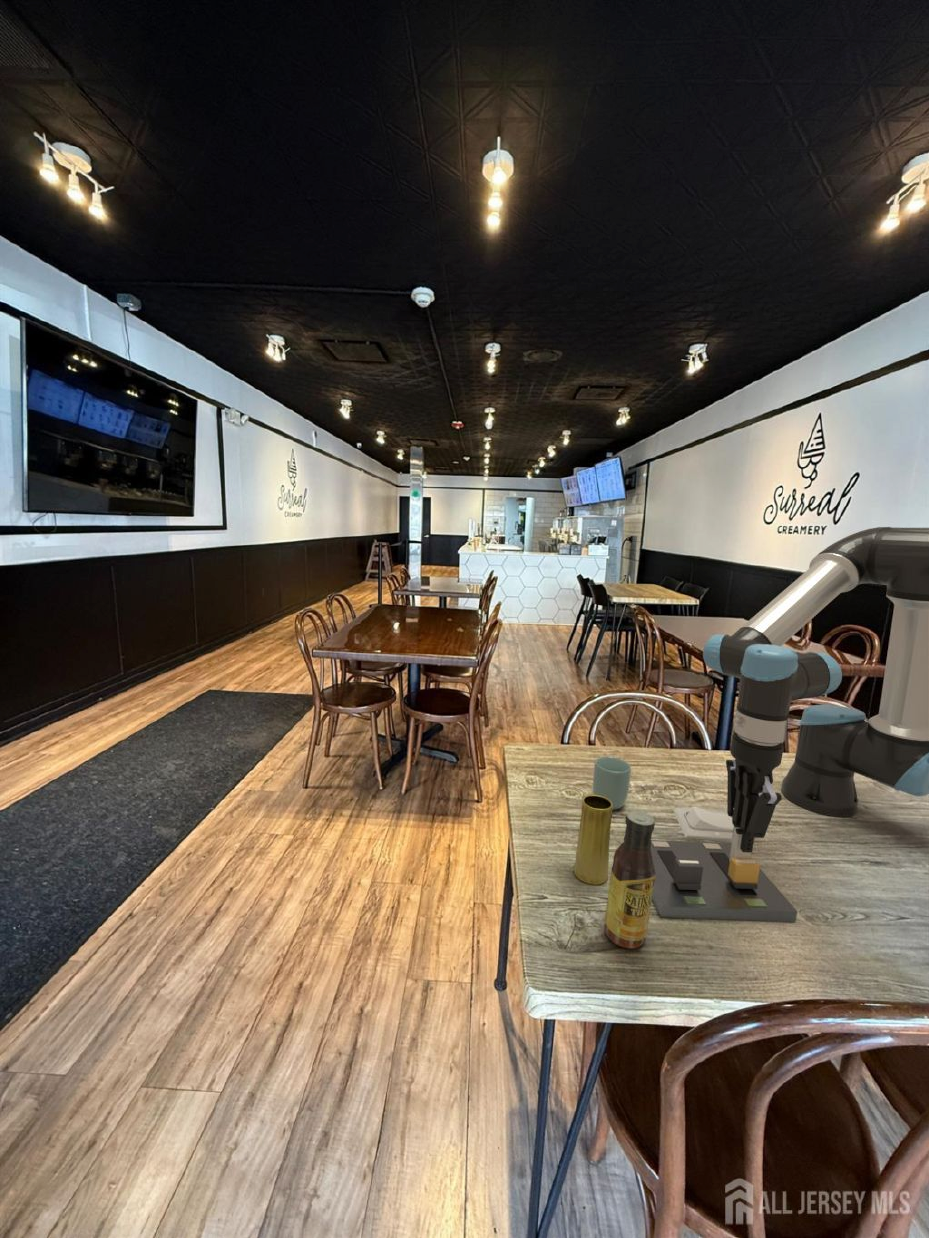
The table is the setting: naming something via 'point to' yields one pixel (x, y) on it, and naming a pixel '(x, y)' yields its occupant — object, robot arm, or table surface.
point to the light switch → (705, 824)
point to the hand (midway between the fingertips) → (739, 863)
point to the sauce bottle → (631, 884)
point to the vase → (594, 840)
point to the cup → (612, 780)
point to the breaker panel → (713, 887)
